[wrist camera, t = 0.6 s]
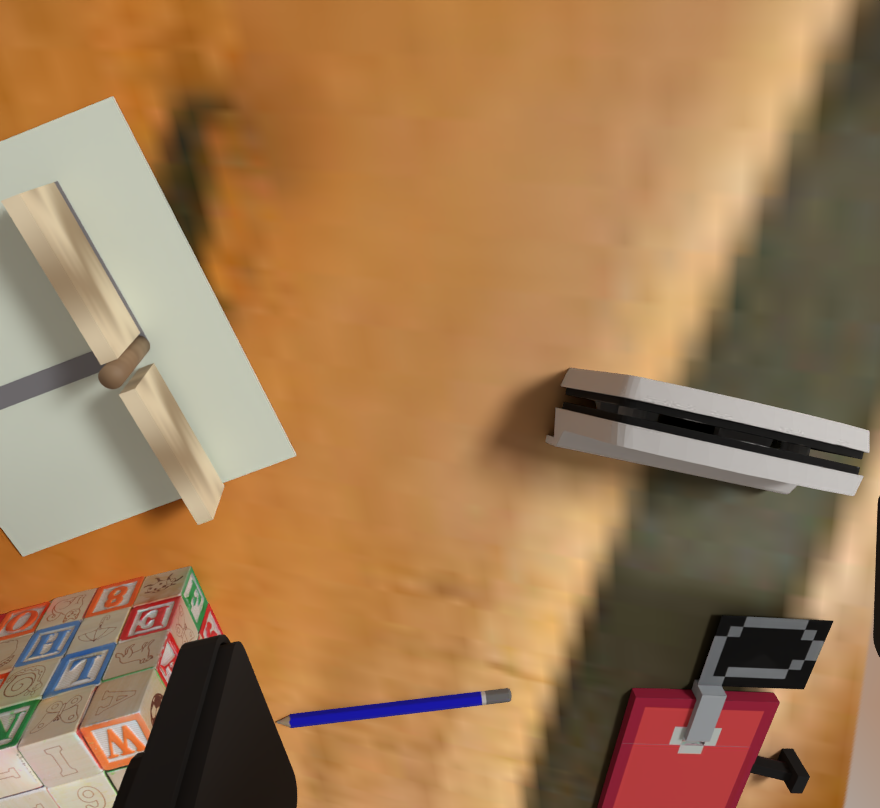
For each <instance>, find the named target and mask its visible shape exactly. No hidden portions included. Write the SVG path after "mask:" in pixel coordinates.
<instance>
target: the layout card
mask: <svg viewBox="0 0 880 808" xmlns="http://www.w3.org/2000/svg"><path fill="white" fill-rule="evenodd" d="M53 182H54V183H55V184H56V186H57V188H58V190H59V191H60V193H61V195H62V197H63V198H64V200H65V202H66V204H67V205H68V207H69V209H70V211H71V212H72V214H73V216H74V218H75V219H76V221H77V223H78V225H79V226H80V228H81V230H82V232H83V233H84V235H85V237H86V239H87V240H88V242H89V244H90V246H91V247H92V249H93V251H94V253H95V254H96V256H97V258H98V260H99V261H100V263H101V265H102V267H103V268H104V270H105V272H106V274H107V275H108V277H109V279H110V281H111V282H112V284H113V286H114V288H115V289H116V291H117V293H118V295H119V296H120V298H121V300H122V302H123V303H124V305H125V307H126V309H127V310H128V312H129V314H130V316H131V317H132V319H133V321H134V323H135V324H136V326H137V328H138V330H139V331H140V334H139V335H140V336H143V337H144V338H146V339H147V340H148V342H149V343H150V350H149V352H148V353H147V354H146V355H145V357H144V358H143V359H142V360H141V362H140V363H139V364H138V366H137V367H136V368H135V369H134V371H133V372H132V373H131V374H130V376H129V377H128V378H127V379H126V381H125V382H124V383H123V385H122V386H121V387H119V388H117V389H108V388H106V387H104V386H103V385H102V384H101V383H100V381H99V379H98V374H99V371H100V370H101V369H102V368H103V367H104V365H105V364H106V363H105V364H103V365H100V363H99V361H98V360H97V358H96V356H95V355H94V353H93V351H92V350H91V348H90V347H89V345H88V343H87V342H86V340H85V338H84V337H83V335H82V333H81V332H80V330H79V328H78V327H77V325H76V323H75V322H74V320H73V319H72V317H71V315H70V314H69V312H68V310H67V309H66V307H65V305H64V304H63V302H62V300H61V299H60V297H59V296H58V294H57V292H56V291H55V289H54V287H53V286H52V284H51V282H50V281H49V279H48V277H47V276H46V274H45V273H44V271H43V269H42V268H41V266H40V264H39V263H38V261H37V259H36V258H35V256H34V254H33V253H32V251H31V250H30V248H29V246H28V245H27V243H26V241H25V240H24V238H23V236H22V235H21V233H20V231H19V230H18V228H17V227H16V225H15V223H14V222H13V220H12V218H11V217H10V215H9V213H8V212H7V210H6V208H5V207H4V205H3V203H2V202H1V201H2V200H5V199H7V198H10V197H12V196H15V195H17V194H20V193H23V192H26V191H29V190H32V189H35V188H38V187H41V186H44V185H47V184H50V183H53ZM153 363H154V364H155V366H156V367H157V369H158V371H159V373H160V374H161V376H162V378H163V380H164V381H165V383H166V385H167V387H168V388H169V390H170V392H171V394H172V395H173V397H174V399H175V401H176V402H177V404H178V406H179V408H180V409H181V411H182V413H183V415H184V416H185V418H186V420H187V422H188V423H189V425H190V427H191V429H192V430H193V432H194V434H195V436H196V437H197V439H198V441H199V442H200V444H201V446H202V448H203V449H204V451H205V453H206V455H207V456H208V458H209V460H210V462H211V463H212V465H213V467H214V469H215V470H216V472H217V474H218V476H219V477H220V479H221V481H222V483H224V482H227V481H230V480H232V479H235V478H238V477H240V476H243V475H246V474H249V473H251V472H254V471H257V470H259V469H262V468H265V467H268V466H270V465H273V464H276V463H278V462H281V461H284V460H287V459H289V458H292V457H295V456H296V453H295V451H294V449H293V447H292V445H291V443H290V441H289V439H288V437H287V435H286V433H285V431H284V429H283V427H282V425H281V423H280V421H279V419H278V417H277V415H276V413H275V411H274V409H273V407H272V405H271V404H270V402H269V400H268V398H267V396H266V394H265V392H264V390H263V388H262V386H261V384H260V382H259V380H258V378H257V376H256V374H255V372H254V370H253V368H252V366H251V364H250V362H249V360H248V358H247V357H246V355H245V353H244V351H243V349H242V347H241V345H240V343H239V341H238V339H237V337H236V335H235V333H234V331H233V329H232V327H231V325H230V323H229V321H228V319H227V317H226V315H225V313H224V311H223V310H222V308H221V306H220V304H219V302H218V300H217V298H216V296H215V294H214V292H213V290H212V288H211V286H210V284H209V282H208V280H207V278H206V276H205V274H204V272H203V270H202V268H201V266H200V264H199V262H198V261H197V259H196V257H195V255H194V253H193V251H192V249H191V247H190V245H189V243H188V241H187V239H186V237H185V235H184V233H183V231H182V229H181V227H180V225H179V223H178V221H177V219H176V217H175V215H174V214H173V212H172V210H171V208H170V206H169V204H168V202H167V200H166V198H165V196H164V194H163V192H162V190H161V188H160V186H159V184H158V182H157V180H156V178H155V176H154V174H153V172H152V170H151V168H150V166H149V165H148V163H147V161H146V159H145V157H144V155H143V153H142V151H141V149H140V147H139V145H138V143H137V141H136V139H135V137H134V135H133V133H132V131H131V129H130V127H129V125H128V123H127V121H126V119H125V118H124V116H123V114H122V112H121V110H120V108H119V106H118V104H117V102H116V100H115V98H114V96H112V97H110V98H107V99H105V100H102V101H100V102H97V103H95V104H92V105H90V106H87V107H85V108H83V109H80V110H78V111H75V112H73V113H70V114H68V115H65V116H63V117H60V118H58V119H55V120H53V121H50V122H48V123H45V124H43V125H40V126H38V127H36V128H33V129H31V130H28V131H26V132H23V133H21V134H18V135H16V136H13V137H11V138H8V139H6V140H3V141H1V142H0V527H1V528H2V530H3V531H4V532H5V534H6V535H7V536H8V538H9V539H10V540H11V542H12V543H13V544H14V546H15V547H16V548H17V550H18V551H19V552H20V554H21V555H22V556H26V555H29V554H32V553H34V552H37V551H40V550H42V549H45V548H48V547H51V546H53V545H56V544H59V543H61V542H64V541H67V540H70V539H72V538H75V537H78V536H80V535H83V534H86V533H89V532H91V531H94V530H97V529H99V528H102V527H105V526H108V525H110V524H113V523H116V522H118V521H121V520H124V519H127V518H129V517H132V516H135V515H137V514H140V513H143V512H146V511H148V510H151V509H154V508H156V507H159V506H162V505H165V504H167V503H170V502H173V501H175V500H178V499H181V496H180V494H179V493H178V491H177V490H176V488H175V486H174V485H173V483H172V481H171V480H170V478H169V476H168V475H167V473H166V471H165V470H164V468H163V466H162V465H161V463H160V462H159V460H158V458H157V457H156V455H155V453H154V452H153V450H152V448H151V447H150V445H149V443H148V442H147V440H146V439H145V437H144V435H143V434H142V432H141V430H140V429H139V427H138V425H137V424H136V422H135V420H134V419H133V417H132V416H131V414H130V412H129V411H128V409H127V407H126V406H125V404H124V402H123V401H122V399H121V397H120V396H119V394H120V392H121V391H122V390H123V389H124V387H125V386H126V385H127V383H128V382H129V381H130V380H131V378H132V377H133V376H134V374H135V373H136V372H137V371H138V369H139V368H142V367H145V366H147V365H150V364H153Z"/></svg>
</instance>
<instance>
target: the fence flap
mask: <svg viewBox="0 0 880 808" xmlns="http://www.w3.org/2000/svg"><path fill="white" fill-rule="evenodd" d="M119 396H120V397H121V399H122V401H123V402H124V404H125V406H126V407H127V409H128V411H129V412H130V414H131V416H132V417H133V419H134V420H135V422H136V424H137V425H138V427H139V429H140V430H141V432H142V434H143V435H144V437H145V439H146V440H147V442H148V443H149V445H150V447H151V448H152V450H153V452H154V453H155V455H156V457H157V458H158V460H159V462H160V463H161V465H162V466H163V468H164V470H165V471H166V473H167V475H168V476H169V478H170V480H171V481H172V483H173V485H174V486H175V488H176V490H177V491H178V493H179V494H180V496H181V498H182V499H183V501H184V503H185V504H186V506H187V508H188V509H189V511H190V513H191V514H192V516H193V517H194V519H195V521H196V522H197V524H198V525H199V524H202V523H205V522H207V521H210V520H213V518H214V515H215V512H216V510H217V507H218V504H219V501H220V498H221V495H222V492H223V489H224V484H223V483H222V481H221V479H220V477H219V476H218V474H217V472H216V470H215V469H214V467H213V465H212V463H211V462H210V460H209V458H208V456H207V455H206V453H205V451H204V449H203V448H202V446H201V444H200V442H199V441H198V439H197V437H196V436H195V434H194V432H193V430H192V429H191V427H190V425H189V423H188V422H187V420H186V418H185V416H184V415H183V413H182V411H181V409H180V408H179V406H178V404H177V402H176V401H175V399H174V397H173V395H172V394H171V392H170V390H169V388H168V387H167V385H166V383H165V381H164V380H163V378H162V376H161V374H160V373H159V371H158V369H157V367H156V366H155V364H154V363H153V364H150V365H147V366H145V367H142V368H139V369H138V371H137V372H136V373H135V374H134V376H133V377H132V378H131V380H130V381H129V382H128V383H127V385H126V386H125V387H124V389H123V390H122V391H121V392H120V394H119Z"/></svg>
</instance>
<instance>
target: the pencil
mask: <svg viewBox="0 0 880 808" xmlns="http://www.w3.org/2000/svg"><path fill="white" fill-rule="evenodd" d="M510 701H511V691H510V689H508V688H506V689H497V690H489V691H481V692H472V693H464V694H456V695H447V696H439V697H430V698H422V699H414V700H405V701H397V702H389V703H380V704H372V705H363V706H355V707H347V708H338V709H330V710H322V711H313V712H305V713H296V714H290V715H288V716H287V717H285V718H283V719H282V720H279V721H277V723H279V724H283V725H285V726H288V727H290V728H295V727H303V726H312V725H320V724H328V723H337V722H345V721H353V720H362V719H370V718H378V717H387V716H395V715H403V714H412V713H420V712H428V711H437V710H445V709H453V708H462V707H470V706H478V705H487V704H495V703H503V702H510Z"/></svg>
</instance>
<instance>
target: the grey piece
mask: <svg viewBox="0 0 880 808" xmlns="http://www.w3.org/2000/svg"><path fill="white" fill-rule="evenodd" d="M561 386H562V387H566V388H567V389H566V395H571V396H575V397H580V398H584V399H589V400H594V401H595V403H596V406H597V409H594V408H589V407H585V406H580V405H576V404H571V403H566V402H564V403H563V407H562V409H561V408H556V410H555V429H554V436H550V435H546V443H548V444H551V445H553V446H556V447H561V448H566V449H571V450H575V451H580V452H585V453H590V454H595V455H599V456H604V457H609V458H614V459H619V460H623V461H628V462H633V463H638V464H643V465H647V466H652V467H657V468H662V469H667V470H671V471H676V472H681V473H686V474H691V475H695V476H700V477H705V478H710V479H715V480H719V481H724V482H729V483H734V484H739V485H743V486H748V487H753V488H758V489H763V490H767V491H772V492H777V493H782V494H789V493H790V492H791V491H792V490H793V489H794V488H795V487H796V486H797V485H799V486H804V487H809V488H814V489H819V490H824V491H829V492H835V493H840V494H846V495H851V496H854V495H855V493H856V491H857V489H858V487H859V485H860V483H861V481H862V478H863V476H861V475H858V473H859V469H860V467H856V466H852V465H847V464H843V463H838V462H834V461H829V460H825V459H820V458H816V457H811V456H809V452H810V449H813V450H818V451H823V452H828V453H833V454H838V455H843V456H848V457H853V458H858V459H862V457H863V453H864V452H866V453H869V431H868V430H865V429H861V428H858V427H854V426H850V425H846V424H843V423H839V422H835V421H831V420H827V419H823V418H819V417H815V416H811V415H807V414H803V413H799V412H794V411H790V410H786V409H782V408H777V407H773V406H769V405H765V404H760V403H756V402H752V401H747V400H743V399H738V398H734V397H729V396H725V395H720V394H716V393H711V392H707V391H702V390H698V389H693V388H689V387H684V386H680V385H675V384H670V383H666V382H661V381H656V380H652V379H647V378H642V377H637V376H631V375H625V374H617V373H608V372H600V371H592V370H584V369H576V368H570V369H569V370H568V372H567V373H566V375H565V377H564V379H563V382H562V384H561ZM659 414H663V415H667V416H671V417H676V418H680V419H685V420H689V421H694V422H698V423H703V424H707V425H712V426H715V429H714V433H713V435H712V434H707V433H703V432H698V431H694V430H689V429H685V428H680V427H676V426H671V425H667V424H662V423H658V417H659ZM773 439H774V440H778V442H781V447H780V449H775V448H771V447H770V446H771V444H772V441H773Z"/></svg>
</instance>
